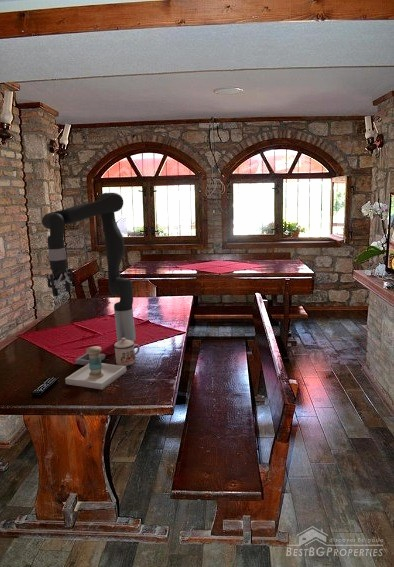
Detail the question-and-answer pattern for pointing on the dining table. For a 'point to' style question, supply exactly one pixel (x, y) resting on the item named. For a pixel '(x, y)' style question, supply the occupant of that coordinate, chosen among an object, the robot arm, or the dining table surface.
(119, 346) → the teacup with lid
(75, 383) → the tray
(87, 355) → the socket
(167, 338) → the dining table surface
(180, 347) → the dining table surface
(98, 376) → the spool
